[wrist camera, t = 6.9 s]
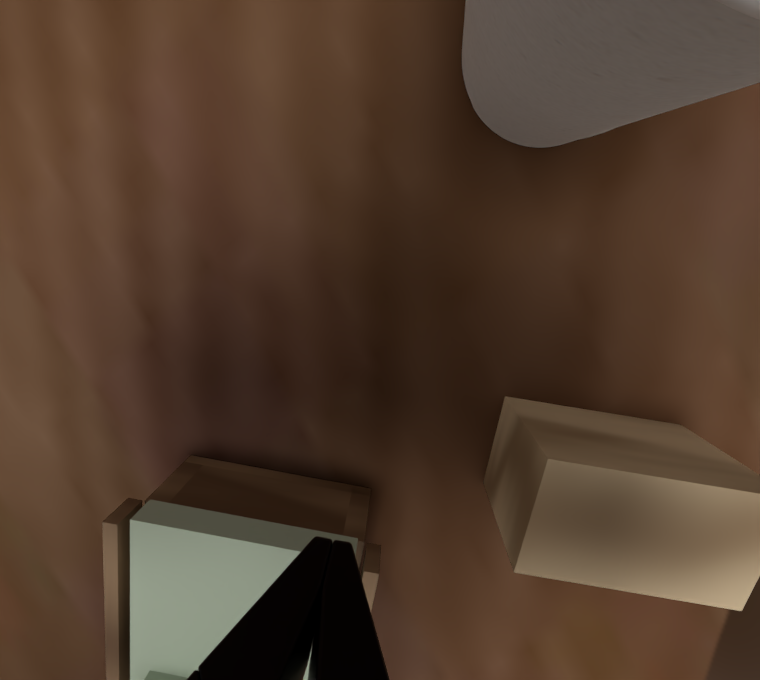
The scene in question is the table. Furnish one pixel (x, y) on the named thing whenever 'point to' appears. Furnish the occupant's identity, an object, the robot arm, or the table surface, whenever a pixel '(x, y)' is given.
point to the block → (623, 504)
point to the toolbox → (236, 497)
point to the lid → (199, 581)
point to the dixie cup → (601, 62)
